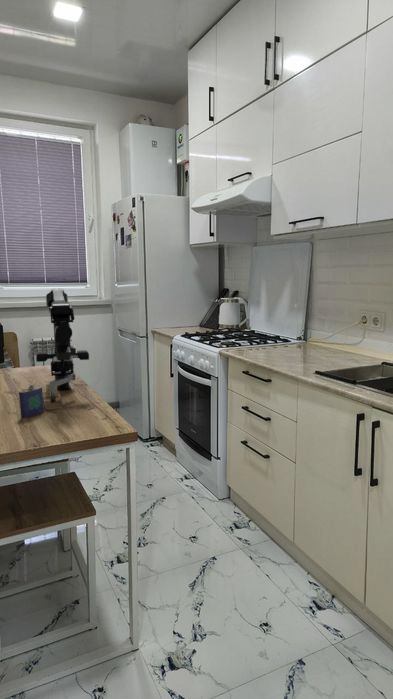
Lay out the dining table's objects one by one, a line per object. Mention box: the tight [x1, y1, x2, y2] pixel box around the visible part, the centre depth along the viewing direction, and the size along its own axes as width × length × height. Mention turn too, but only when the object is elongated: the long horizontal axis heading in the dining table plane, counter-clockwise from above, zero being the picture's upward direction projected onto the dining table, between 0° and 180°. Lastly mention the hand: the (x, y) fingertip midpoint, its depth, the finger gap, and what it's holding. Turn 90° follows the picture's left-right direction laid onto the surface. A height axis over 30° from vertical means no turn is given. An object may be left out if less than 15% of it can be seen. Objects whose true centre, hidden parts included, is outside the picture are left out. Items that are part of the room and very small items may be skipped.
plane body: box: [42, 390, 63, 411], centre depth 169 cm, size 19×6×5 cm, turn 20°
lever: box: [49, 373, 76, 402], centre depth 168 cm, size 15×2×7 cm, turn 162°
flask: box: [18, 384, 45, 420], centre depth 153 cm, size 9×3×11 cm, turn 152°
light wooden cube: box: [44, 380, 58, 398], centre depth 171 cm, size 6×4×5 cm, turn 20°
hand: (63, 378), depth 171 cm, fingers closed
